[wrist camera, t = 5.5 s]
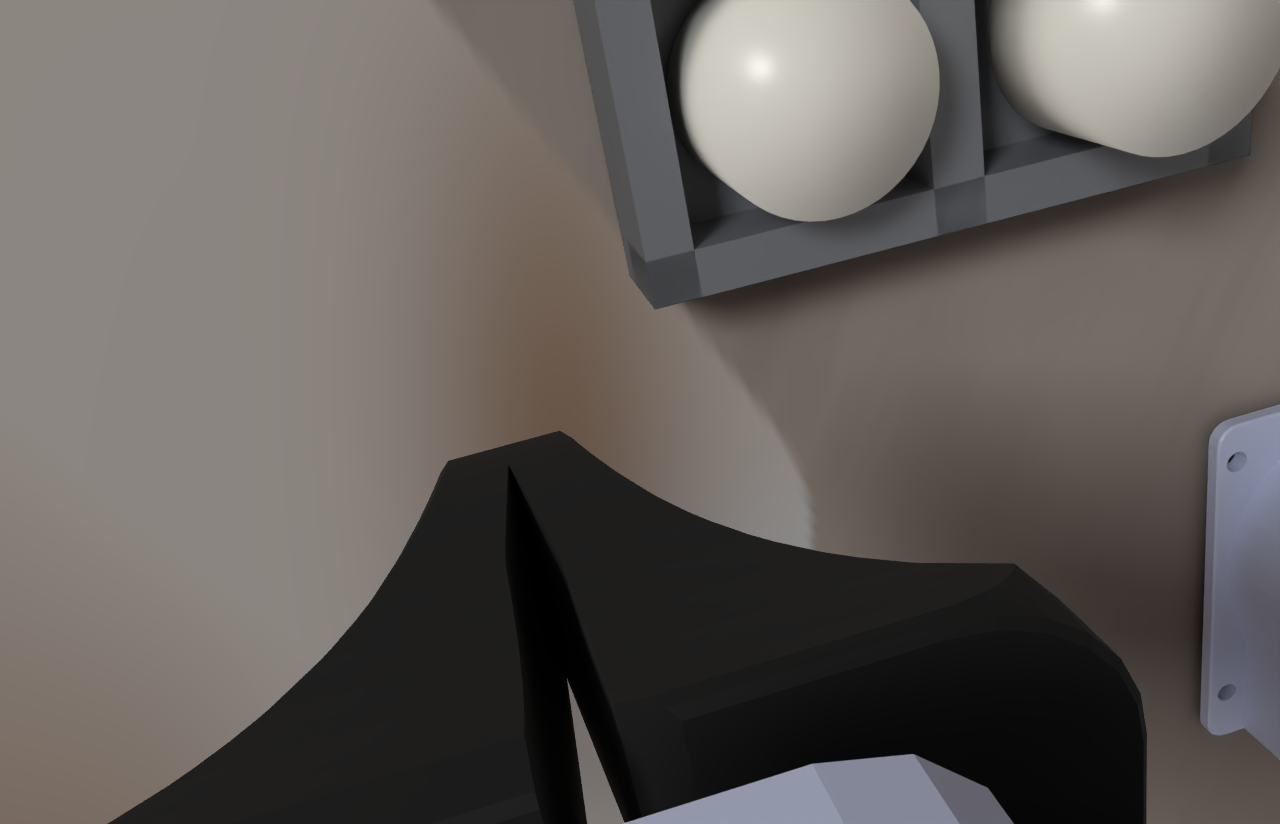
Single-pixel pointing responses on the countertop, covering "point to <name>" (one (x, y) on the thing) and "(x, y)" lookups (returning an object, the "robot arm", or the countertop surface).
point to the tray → (912, 211)
